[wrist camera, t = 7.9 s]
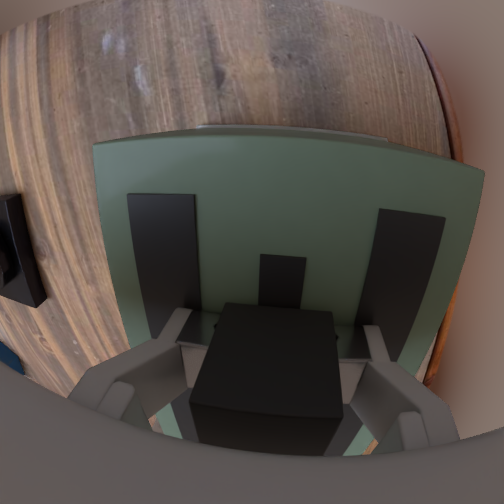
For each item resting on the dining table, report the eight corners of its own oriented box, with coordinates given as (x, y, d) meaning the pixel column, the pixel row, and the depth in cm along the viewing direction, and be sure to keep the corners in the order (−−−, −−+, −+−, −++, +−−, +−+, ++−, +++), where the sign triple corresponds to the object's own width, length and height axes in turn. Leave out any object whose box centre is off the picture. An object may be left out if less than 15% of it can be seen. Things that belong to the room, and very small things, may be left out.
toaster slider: (225, 300, 8) (187, 401, 5) (332, 310, 8) (345, 417, 5) (227, 359, 9) (200, 450, 6) (318, 368, 9) (319, 463, 6)
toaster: (200, 125, 17) (83, 138, 7) (384, 137, 15) (493, 166, 5) (209, 333, 24) (165, 446, 14) (344, 345, 22) (357, 466, 12)
